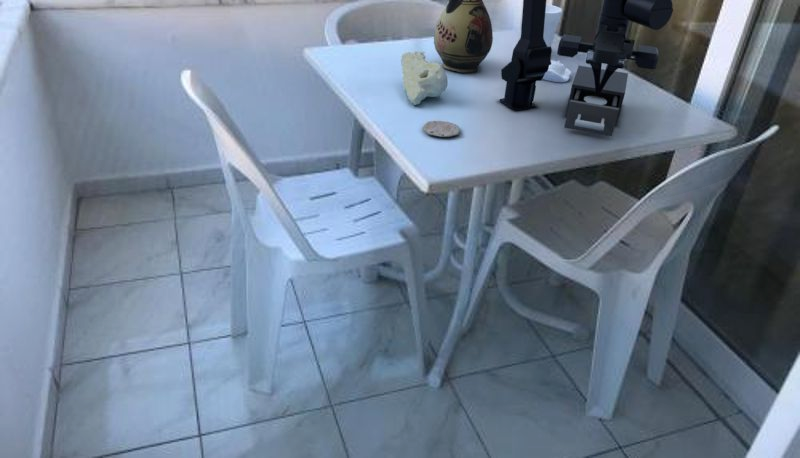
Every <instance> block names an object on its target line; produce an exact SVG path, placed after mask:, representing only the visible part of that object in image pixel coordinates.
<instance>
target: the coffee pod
mask: <svg viewBox="0 0 800 458" xmlns="http://www.w3.org/2000/svg"><path fill="white" fill-rule="evenodd" d="M584 102H587V103H593V104H599V105H606V104H607V101H606V100H605V99H604V98H601V97H597V96H586V97H584Z"/></svg>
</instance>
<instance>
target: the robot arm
mask: <svg viewBox="0 0 800 458" xmlns="http://www.w3.org/2000/svg"><path fill="white" fill-rule="evenodd" d="M546 4H547V0H523V2H522V13H521V29H520V38H519V39H518V40H517V43H516V44H515V46H514V47H513V50H512V54H511V61H509V63H507V64H506V65H505V66H504V67H502V68H501V70H500V76H501V80H503V81H505V82H506V84H505V89H504V97H503V98H500V99H499V102H500V103H501V104H503V105H504V106H506V107H507V108H509V109H511V110H513V111H514V112H517V111H522V110H528V109H533V108H536V107H537V104H536V103H534V100H535V95H536V89H537V85H536V84H537V82H542V80H544V79H543V77H544V75H545V73H546V72H547V71H548V69H549V65H551V61H552V53H553V49H552V46H551V47H547V45H546V43H545V41H544V38H543V35H544V23H545V11H546ZM673 12H674V8H673V1H672V0H602V4H601V9H600V13H599V19H598V23H597V28H596V32H595V35H594V39H593V43H591V42H584V41H582V39H583V36H579V35H573V34H563V35H562V36H561V37H560V40H559V42H558V46H557V52H556V55H557V56H560V57H565V58H566V57H567V58H574V57H575V56H577V55H578V54H579V53H584V54H586V58H585V63H586V64H588V65H590V67H592V70H593V74H594V81H595V90H596V93H598V94H600V93H601V91H602V89H603V88H604V86H605V84H606V83H607V81H608V80H609V78H610V77H611V75H612V74H613V73H614V72H615V71H617V70H618V69H621V70H622V69H624V68H625V63H626V62H627V60H631V61H635V62H634V63H635V65H636V66H637V67H638V68H641V69H645V70H646V69H647V70H656V68H657V64H658V61H659V49H658V48H657V46H650V45H643V44H637V48H636V49H634V46H635V39H630V38H627V37H628V33H629V28H630V25H631V23H635V24H637V25H640V26H642V27H645V28H648V29H651V30H654V31H658V30H661V29H662V28H664V27H665V26H667V24H668V23H669V21H670V19H671V17H672V16H673ZM602 64H604V65H606V66H605V69H604V70H605V72H604V74H603V77H602V80H601V83H600V78H601V69H602V66H603V65H602Z"/></svg>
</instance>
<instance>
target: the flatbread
mask: <svg viewBox="0 0 800 458" xmlns="http://www.w3.org/2000/svg"><path fill="white" fill-rule="evenodd" d="M422 129H423V131H424V132H425V133H426V134H427V135H429V136H435V137H441V138H450V137H455V136H458V135H459V134H460V127H459V126H458V124H456V123H453V122H449V121H445V120H444V121H443V120H430V121H427V122H426V123H425V124H423V127H422Z"/></svg>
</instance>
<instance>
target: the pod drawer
mask: <svg viewBox="0 0 800 458" xmlns="http://www.w3.org/2000/svg"><path fill="white" fill-rule="evenodd" d="M586 96H597V97H601V98H604V99H605V100H606V101H607V104H606V105H599V104H593V103H587V102H584V97H586ZM617 99H618V95H613V94H607V93H600V94H598V93H596V92H595V91H589V90H583V89H577V91H576V95H575V98H574V100H570V102H569V101H568V102H569V107H568V112H567V116H566V115H565V116H566V117H565V122H564V126H563V127H564V129H568V130H574V131H578V132H584V133H589V134H596V135H600V136H606V137H611V138H612V137H613V135H614V131H615V127H616V126H615V124H616V120H617V116H618V112H619V108H616V104H617Z"/></svg>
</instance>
